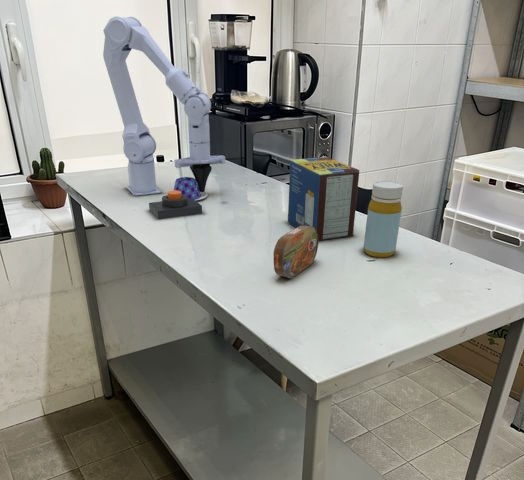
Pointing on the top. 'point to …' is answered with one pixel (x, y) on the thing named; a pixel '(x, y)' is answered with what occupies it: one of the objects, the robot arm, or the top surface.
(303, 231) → the tin
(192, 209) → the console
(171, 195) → the button
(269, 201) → the top surface
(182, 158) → the robot arm
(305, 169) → the protein box
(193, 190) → the pudding
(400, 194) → the bottle
